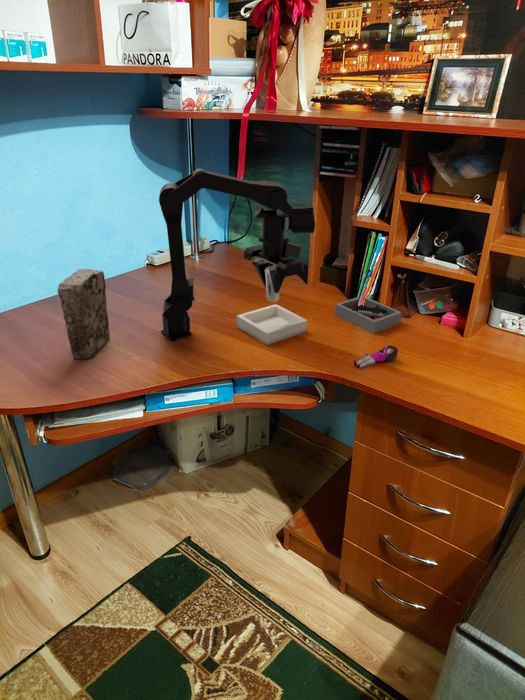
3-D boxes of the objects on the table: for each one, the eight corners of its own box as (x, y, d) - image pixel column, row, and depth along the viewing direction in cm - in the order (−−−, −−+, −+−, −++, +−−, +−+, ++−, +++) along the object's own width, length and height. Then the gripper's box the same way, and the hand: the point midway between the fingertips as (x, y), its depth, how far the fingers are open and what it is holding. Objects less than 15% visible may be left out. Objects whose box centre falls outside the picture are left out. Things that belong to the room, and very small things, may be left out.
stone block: (88, 336, 144) (77, 266, 135) (113, 338, 144) (104, 267, 134) (68, 360, 132) (54, 285, 123) (96, 362, 132) (84, 286, 123)
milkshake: (261, 302, 143) (261, 266, 139) (268, 295, 148) (267, 260, 143) (277, 304, 142) (277, 268, 137) (283, 297, 146) (283, 262, 142)
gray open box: (373, 333, 148) (374, 322, 146) (334, 315, 158) (335, 304, 157) (400, 323, 154) (402, 312, 152) (361, 306, 164) (362, 295, 163)
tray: (266, 345, 141) (266, 333, 139) (236, 326, 151) (236, 315, 149) (306, 331, 148) (307, 320, 147) (275, 314, 158) (275, 304, 156)
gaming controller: (348, 320, 159) (345, 312, 152) (351, 306, 160) (348, 298, 153) (385, 325, 156) (383, 317, 149) (387, 310, 157) (386, 302, 150)
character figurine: (362, 376, 129) (401, 361, 133) (362, 358, 127) (402, 343, 131) (349, 366, 134) (387, 351, 138) (348, 349, 131) (387, 334, 136)
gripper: (321, 237, 134) (317, 294, 142) (275, 221, 147) (274, 275, 155) (286, 244, 128) (284, 304, 136) (242, 227, 141) (242, 282, 149)
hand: (271, 290), depth 144 cm, fingers closed on milkshake, 4 cm apart
